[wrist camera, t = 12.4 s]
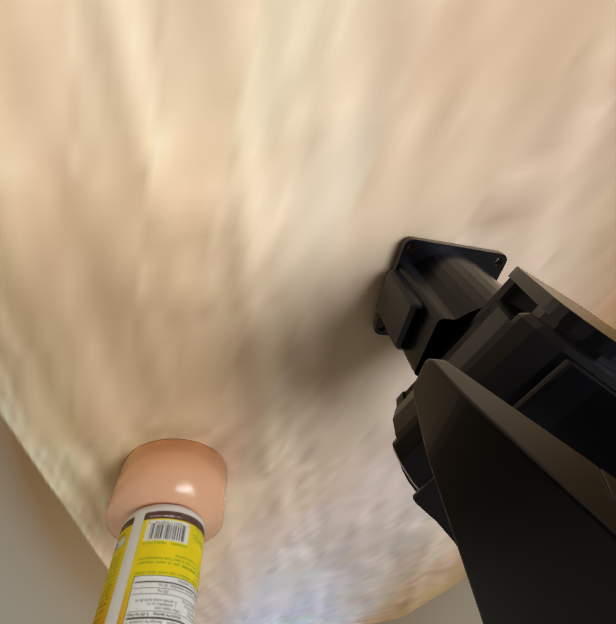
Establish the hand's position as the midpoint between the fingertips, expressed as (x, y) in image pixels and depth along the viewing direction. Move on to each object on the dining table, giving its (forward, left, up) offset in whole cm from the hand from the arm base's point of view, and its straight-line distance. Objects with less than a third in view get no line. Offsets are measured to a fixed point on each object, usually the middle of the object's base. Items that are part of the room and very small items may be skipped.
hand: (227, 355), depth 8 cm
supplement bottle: (+3, +23, -9) cm, 25 cm away
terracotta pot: (+3, +23, -13) cm, 27 cm away
